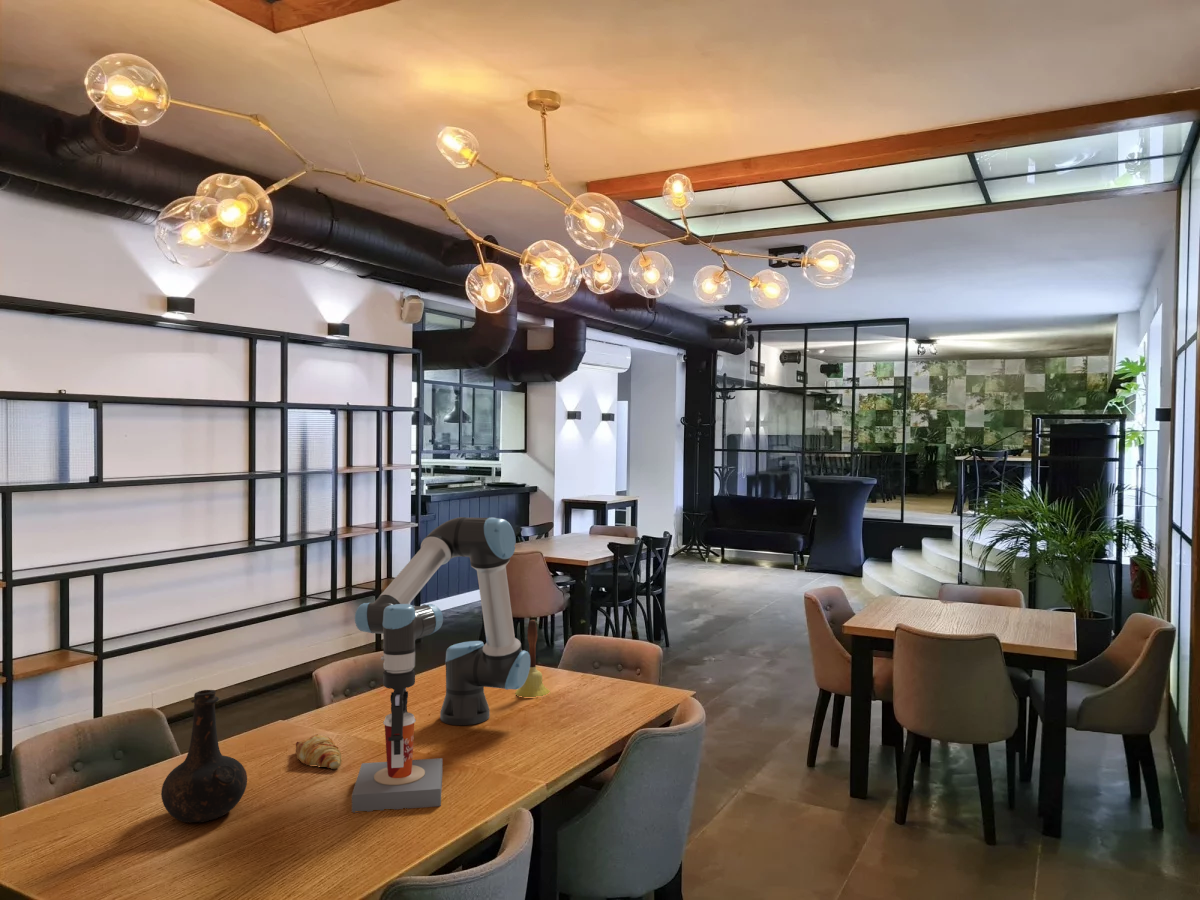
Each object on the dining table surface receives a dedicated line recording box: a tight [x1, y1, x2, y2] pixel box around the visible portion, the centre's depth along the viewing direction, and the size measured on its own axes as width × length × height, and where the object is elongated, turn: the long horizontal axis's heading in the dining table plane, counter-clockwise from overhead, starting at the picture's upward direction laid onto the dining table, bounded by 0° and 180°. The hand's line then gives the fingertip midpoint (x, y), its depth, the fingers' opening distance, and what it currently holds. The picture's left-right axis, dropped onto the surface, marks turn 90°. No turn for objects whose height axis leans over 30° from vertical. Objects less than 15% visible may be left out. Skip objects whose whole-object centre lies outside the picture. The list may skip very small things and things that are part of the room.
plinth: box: [351, 757, 443, 813], centre depth 203 cm, size 20×20×4 cm
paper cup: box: [382, 712, 416, 778], centre depth 203 cm, size 8×8×14 cm
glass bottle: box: [161, 689, 248, 823], centre depth 191 cm, size 18×18×28 cm
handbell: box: [514, 619, 551, 697], centre depth 286 cm, size 12×12×25 cm
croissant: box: [295, 734, 343, 770], centre depth 224 cm, size 21×10×8 cm, turn 49°
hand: (399, 757), depth 203 cm, fingers open, 13 cm apart
